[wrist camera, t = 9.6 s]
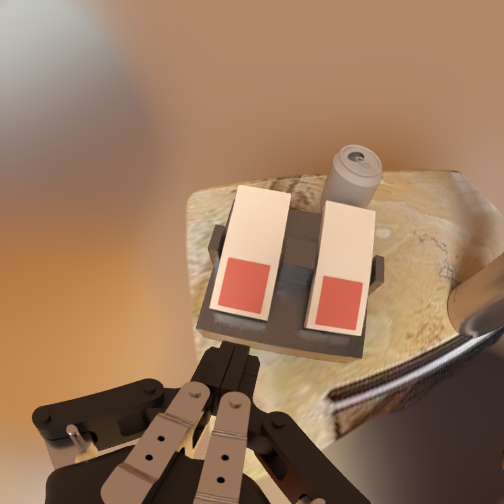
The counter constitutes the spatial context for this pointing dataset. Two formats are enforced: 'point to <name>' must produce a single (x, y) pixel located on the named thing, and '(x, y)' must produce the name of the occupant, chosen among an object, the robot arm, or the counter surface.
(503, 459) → the onion
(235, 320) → the switch box
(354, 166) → the can
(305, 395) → the counter surface
